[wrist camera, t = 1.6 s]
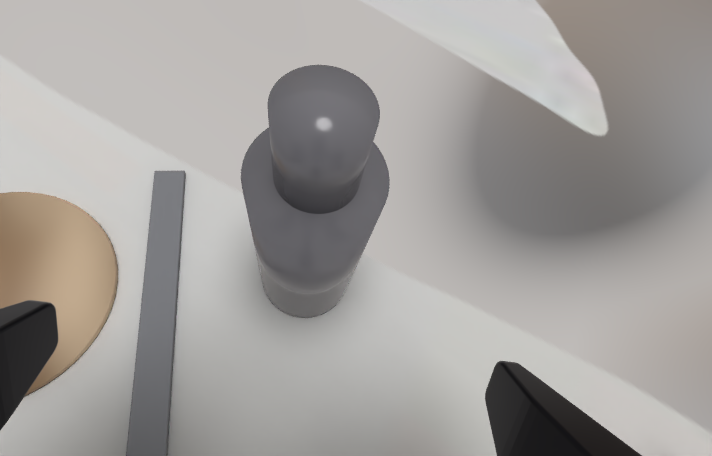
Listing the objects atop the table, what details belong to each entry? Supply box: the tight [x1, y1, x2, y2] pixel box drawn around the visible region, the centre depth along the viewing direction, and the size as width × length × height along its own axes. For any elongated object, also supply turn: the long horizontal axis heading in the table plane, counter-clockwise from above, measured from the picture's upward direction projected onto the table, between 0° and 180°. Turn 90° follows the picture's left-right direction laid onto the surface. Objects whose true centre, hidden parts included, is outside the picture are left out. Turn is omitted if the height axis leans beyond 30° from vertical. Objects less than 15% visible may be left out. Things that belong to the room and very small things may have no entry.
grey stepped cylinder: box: [241, 65, 389, 318], centre depth 15 cm, size 4×4×13 cm
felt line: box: [126, 171, 185, 456], centre depth 19 cm, size 16×2×1 cm, turn 6°
